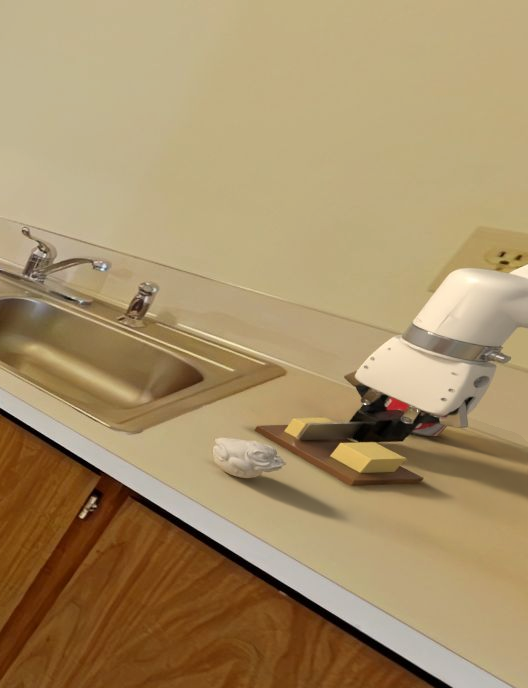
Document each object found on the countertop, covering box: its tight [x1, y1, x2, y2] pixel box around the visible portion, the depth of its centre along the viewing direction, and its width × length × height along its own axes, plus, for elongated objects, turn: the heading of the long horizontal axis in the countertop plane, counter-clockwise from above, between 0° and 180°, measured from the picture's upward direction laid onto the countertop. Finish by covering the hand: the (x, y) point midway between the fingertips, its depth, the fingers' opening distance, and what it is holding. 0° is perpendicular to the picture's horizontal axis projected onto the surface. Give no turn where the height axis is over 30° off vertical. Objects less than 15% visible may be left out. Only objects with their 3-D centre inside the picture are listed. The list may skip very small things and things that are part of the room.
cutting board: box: [253, 424, 425, 487], centre depth 86 cm, size 12×12×1 cm
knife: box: [296, 410, 406, 443], centre depth 87 cm, size 18×2×5 cm, turn 92°
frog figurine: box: [212, 437, 287, 479], centre depth 82 cm, size 6×7×7 cm
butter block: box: [330, 442, 407, 473], centre depth 83 cm, size 6×4×3 cm, turn 92°
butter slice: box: [285, 417, 334, 437], centre depth 89 cm, size 6×2×3 cm, turn 92°
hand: (376, 430), depth 88 cm, fingers closed on knife, 2 cm apart
